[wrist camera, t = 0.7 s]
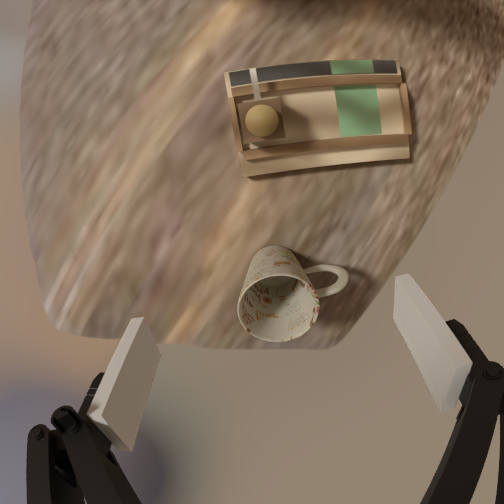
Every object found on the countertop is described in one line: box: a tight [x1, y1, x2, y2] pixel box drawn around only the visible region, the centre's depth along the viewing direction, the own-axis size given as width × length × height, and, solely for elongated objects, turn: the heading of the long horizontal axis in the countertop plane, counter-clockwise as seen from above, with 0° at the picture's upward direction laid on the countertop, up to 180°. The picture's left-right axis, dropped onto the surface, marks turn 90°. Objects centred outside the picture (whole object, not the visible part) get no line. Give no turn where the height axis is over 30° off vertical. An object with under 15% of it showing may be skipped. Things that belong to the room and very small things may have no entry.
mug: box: [238, 245, 349, 342], centre depth 36 cm, size 8×13×10 cm, turn 104°
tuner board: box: [224, 59, 412, 177], centre depth 32 cm, size 12×20×2 cm, turn 99°
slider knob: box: [237, 68, 286, 144], centre depth 29 cm, size 7×4×6 cm, turn 9°
